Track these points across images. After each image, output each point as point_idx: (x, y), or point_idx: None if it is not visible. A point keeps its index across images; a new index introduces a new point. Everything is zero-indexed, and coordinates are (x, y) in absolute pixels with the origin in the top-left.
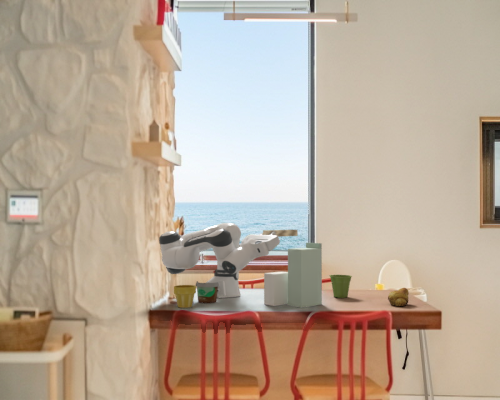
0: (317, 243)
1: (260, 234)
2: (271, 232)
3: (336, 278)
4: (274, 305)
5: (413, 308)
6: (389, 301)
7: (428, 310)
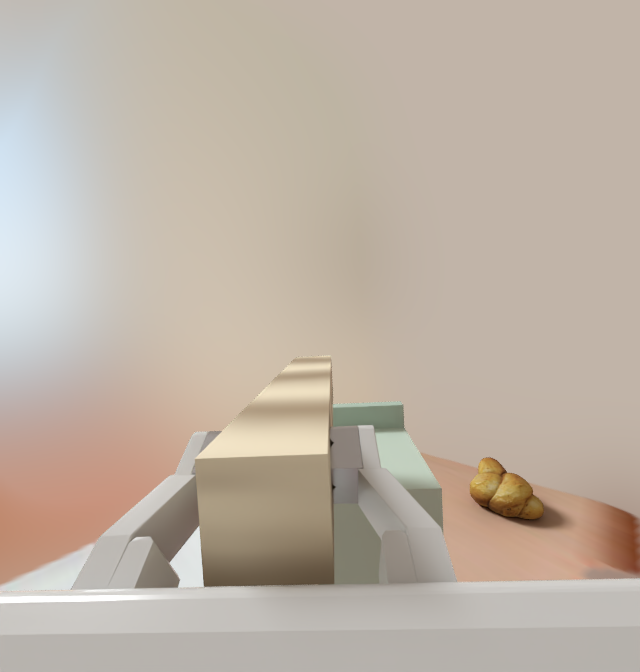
0: (391, 406)
1: (126, 543)
2: (344, 453)
3: None
4: None
5: (565, 514)
6: (499, 509)
7: (601, 511)
